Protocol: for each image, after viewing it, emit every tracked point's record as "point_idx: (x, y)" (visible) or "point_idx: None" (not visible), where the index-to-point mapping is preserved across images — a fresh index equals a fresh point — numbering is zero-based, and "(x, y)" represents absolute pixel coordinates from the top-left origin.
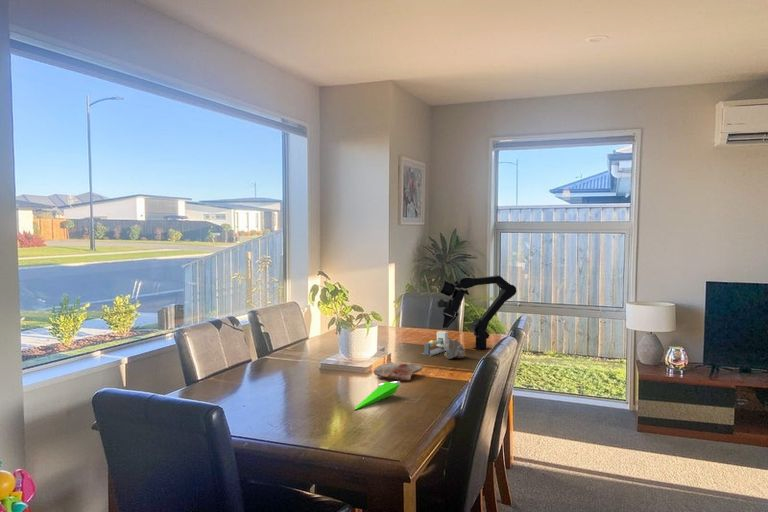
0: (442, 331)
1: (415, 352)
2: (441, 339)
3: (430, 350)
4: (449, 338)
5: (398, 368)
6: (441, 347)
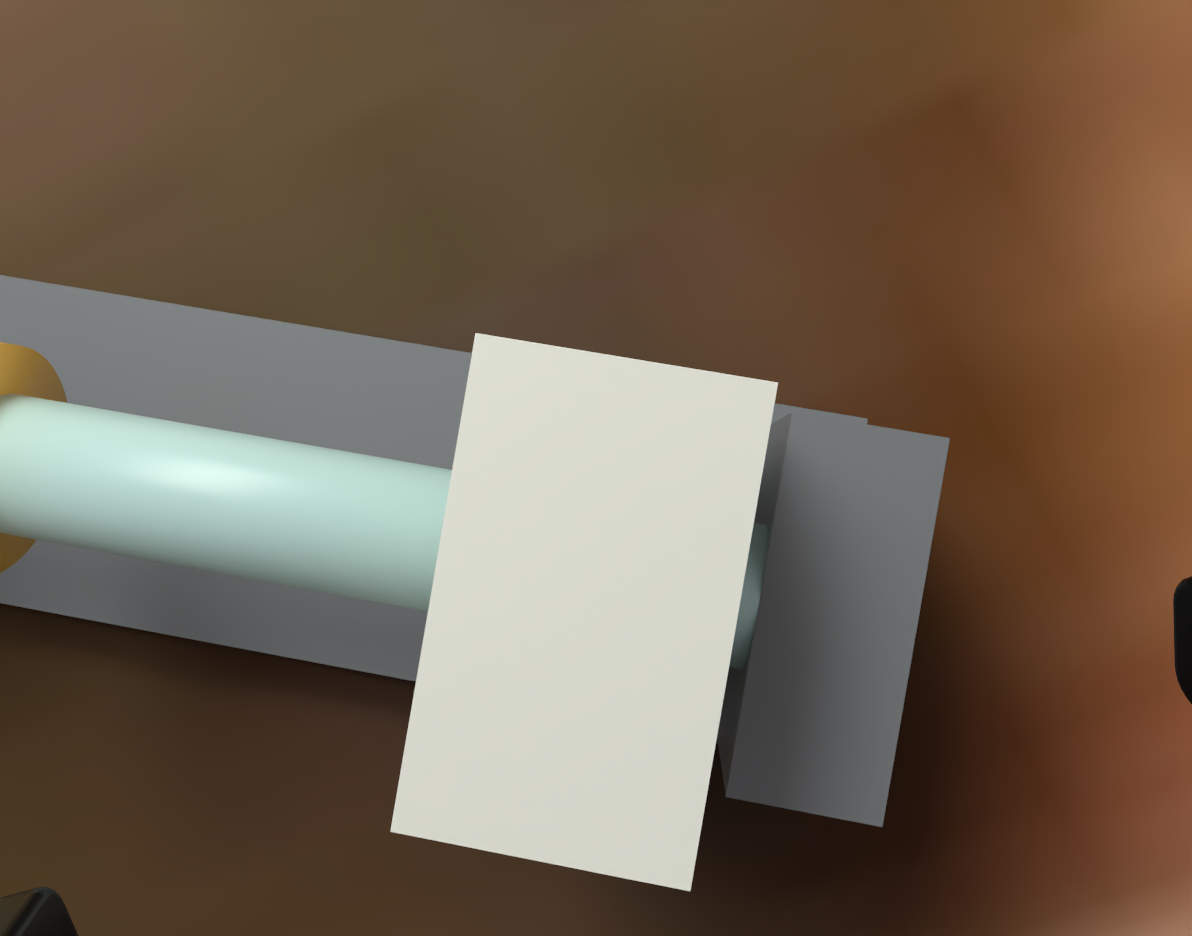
0: (698, 565)
1: (33, 27)
2: None
3: (289, 331)
4: (798, 808)
5: None
6: None
